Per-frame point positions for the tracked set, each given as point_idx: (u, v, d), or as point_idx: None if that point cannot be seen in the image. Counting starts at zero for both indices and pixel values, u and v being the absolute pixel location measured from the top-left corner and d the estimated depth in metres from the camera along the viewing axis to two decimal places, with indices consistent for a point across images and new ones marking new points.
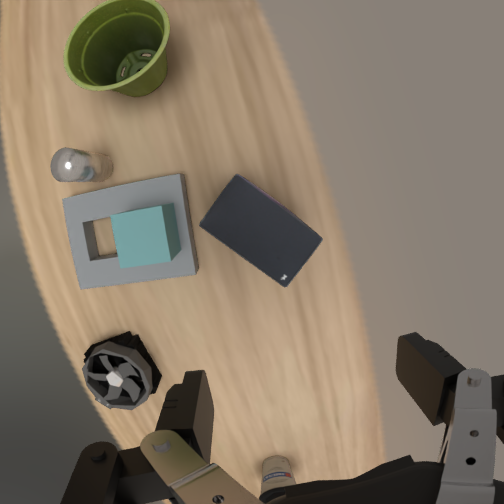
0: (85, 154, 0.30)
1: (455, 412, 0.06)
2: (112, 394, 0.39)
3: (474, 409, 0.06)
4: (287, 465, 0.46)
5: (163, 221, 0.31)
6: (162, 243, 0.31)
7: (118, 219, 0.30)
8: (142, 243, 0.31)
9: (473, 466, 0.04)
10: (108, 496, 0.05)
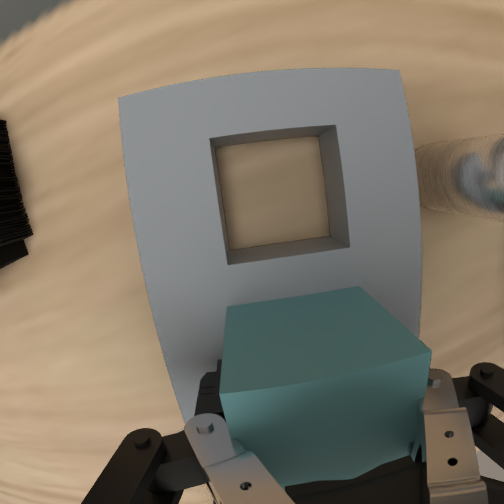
0: None
1: (424, 416, 0.06)
2: None
3: (443, 410, 0.06)
4: None
5: None
6: None
7: (412, 380, 0.07)
8: (314, 457, 0.08)
9: (456, 466, 0.04)
10: (143, 483, 0.06)
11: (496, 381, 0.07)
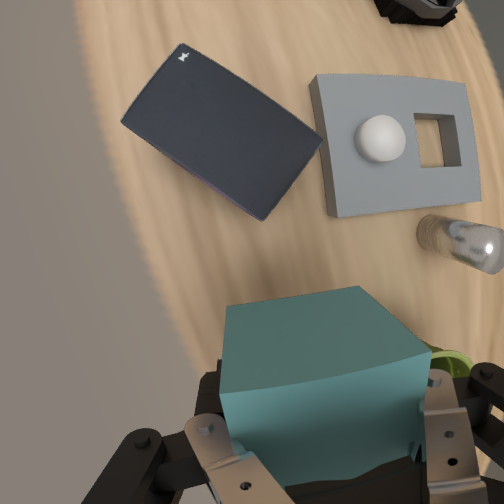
0: (463, 258, 0.22)
1: (424, 416, 0.06)
2: None
3: (443, 410, 0.06)
4: None
5: None
6: None
7: (412, 380, 0.07)
8: (314, 457, 0.08)
9: (456, 466, 0.04)
10: (143, 483, 0.06)
11: (496, 381, 0.07)
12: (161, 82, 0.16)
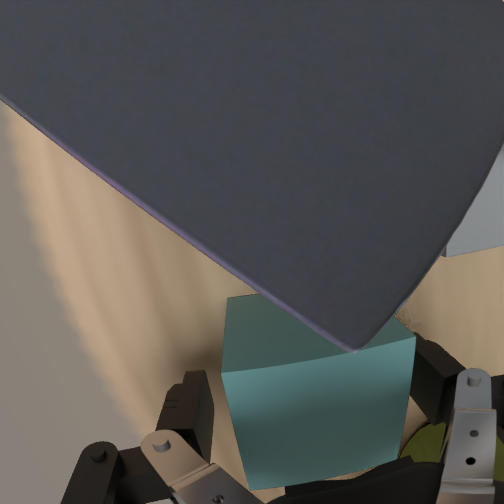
0: None
1: (455, 412, 0.06)
2: None
3: (474, 409, 0.06)
4: None
5: (358, 469, 0.09)
6: (301, 475, 0.09)
7: (398, 364, 0.08)
8: (308, 437, 0.09)
9: (473, 466, 0.04)
10: (108, 496, 0.05)
11: None
12: None
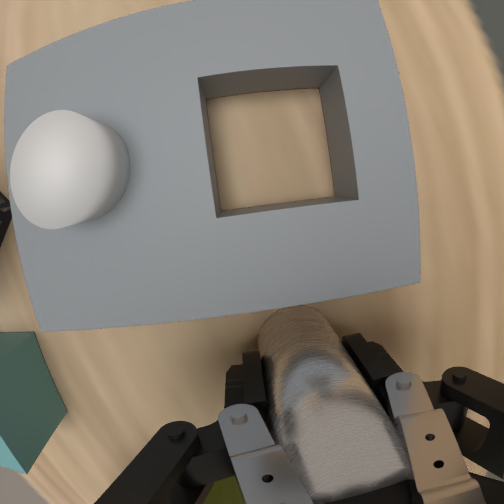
0: None
1: (401, 421, 0.06)
2: None
3: (419, 414, 0.06)
4: None
5: (7, 466, 0.10)
6: None
7: None
8: None
9: (443, 468, 0.04)
10: (171, 477, 0.06)
11: (471, 385, 0.07)
12: None
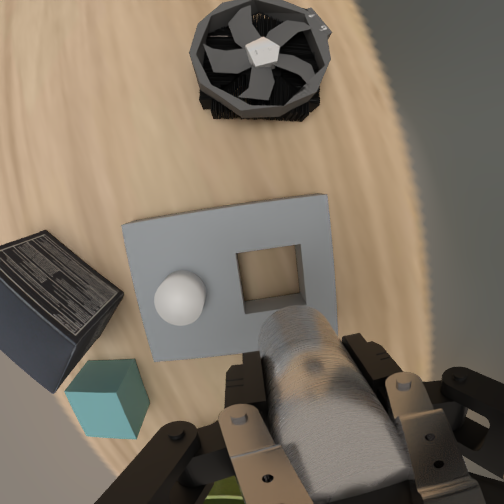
0: None
1: (400, 421, 0.06)
2: (290, 29, 0.20)
3: (419, 413, 0.06)
4: None
5: (121, 437, 0.25)
6: (100, 433, 0.24)
7: (113, 400, 0.24)
8: (95, 417, 0.24)
9: (443, 468, 0.04)
10: (171, 476, 0.06)
11: (471, 385, 0.07)
12: None
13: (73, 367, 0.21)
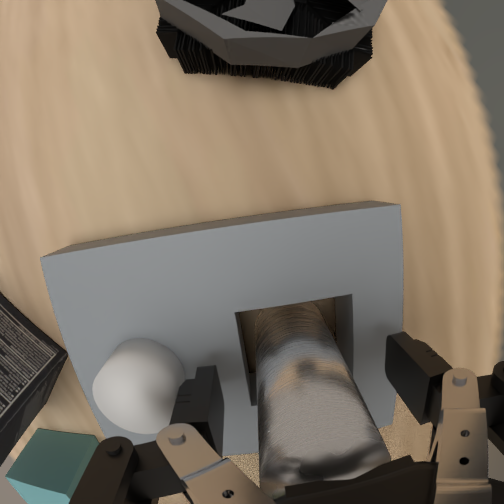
0: None
1: (444, 413, 0.06)
2: None
3: (463, 409, 0.06)
4: None
5: None
6: None
7: (65, 500, 0.12)
8: None
9: (467, 466, 0.04)
10: (120, 491, 0.06)
11: None
12: None
13: (1, 463, 0.10)
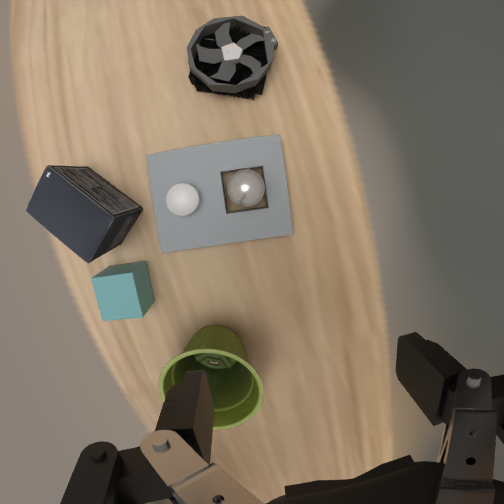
0: None
1: (455, 412, 0.06)
2: (252, 39, 0.32)
3: (474, 409, 0.06)
4: None
5: (131, 317, 0.37)
6: (114, 315, 0.36)
7: (129, 279, 0.36)
8: (112, 299, 0.36)
9: (473, 466, 0.04)
10: (108, 496, 0.05)
11: None
12: (40, 190, 0.29)
13: (104, 249, 0.34)
